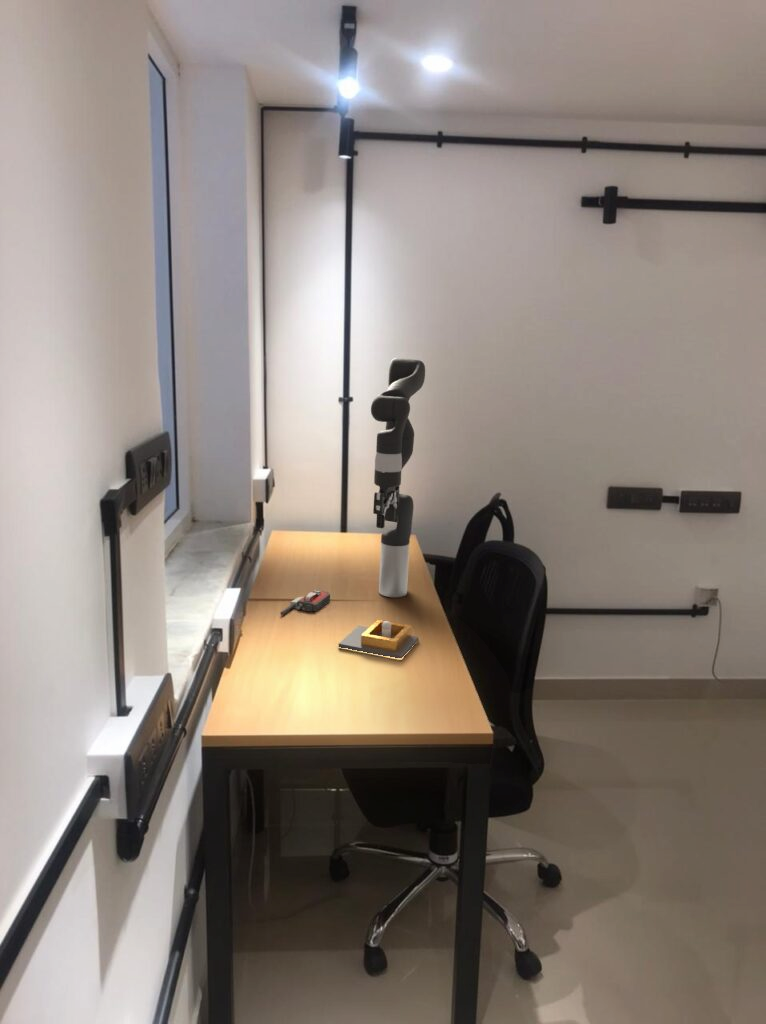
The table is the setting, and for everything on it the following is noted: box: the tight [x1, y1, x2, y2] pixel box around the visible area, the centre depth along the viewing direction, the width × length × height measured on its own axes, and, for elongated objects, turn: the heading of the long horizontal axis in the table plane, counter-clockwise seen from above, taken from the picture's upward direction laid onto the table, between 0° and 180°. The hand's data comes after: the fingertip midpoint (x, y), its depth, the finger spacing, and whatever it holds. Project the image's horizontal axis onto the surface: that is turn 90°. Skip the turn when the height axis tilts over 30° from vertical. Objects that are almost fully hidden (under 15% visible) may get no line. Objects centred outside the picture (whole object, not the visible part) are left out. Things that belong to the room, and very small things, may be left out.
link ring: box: [361, 619, 412, 652], centre depth 209 cm, size 12×10×3 cm
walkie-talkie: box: [280, 589, 331, 615], centre depth 235 cm, size 9×4×20 cm
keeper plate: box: [338, 620, 419, 658], centre depth 209 cm, size 14×18×7 cm
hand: (385, 524), depth 218 cm, fingers open, 8 cm apart
